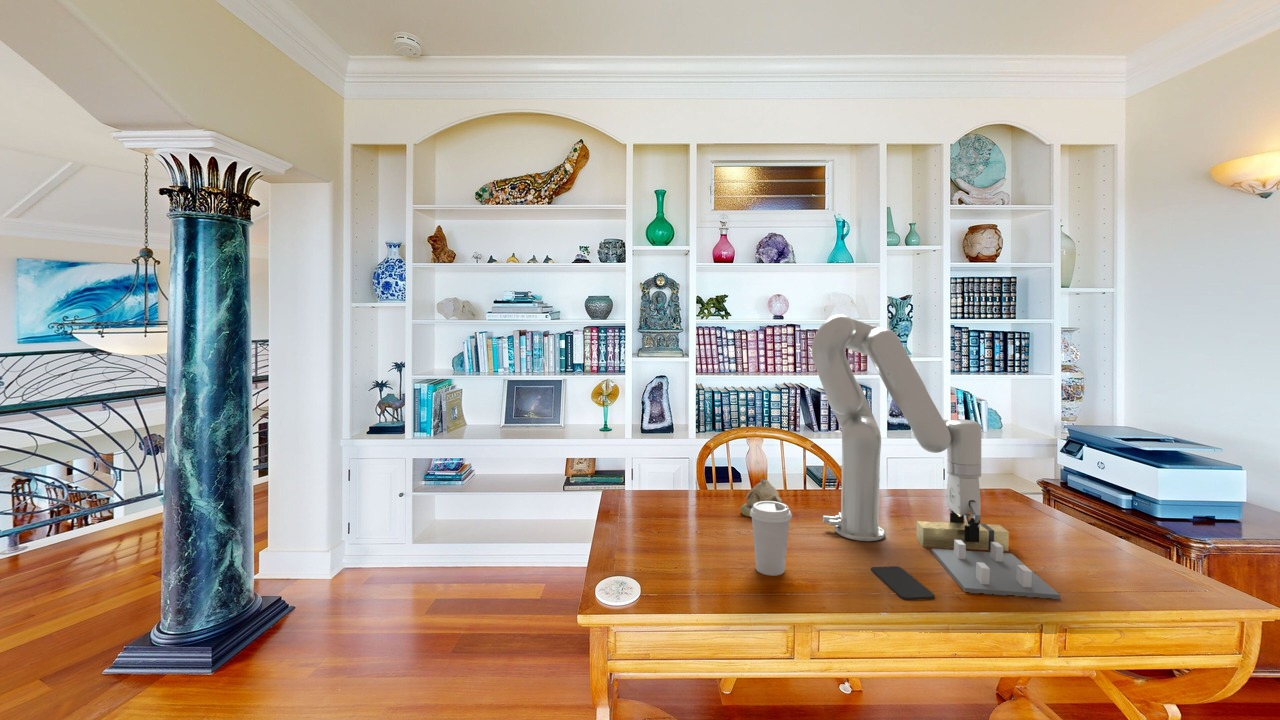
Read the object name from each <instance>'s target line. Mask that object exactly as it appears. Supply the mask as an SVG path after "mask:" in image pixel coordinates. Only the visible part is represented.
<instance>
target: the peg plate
mask: <svg viewBox="0 0 1280 720" xmlns="http://www.w3.org/2000/svg"><path fill="white" fill-rule="evenodd" d="M931 554H932V555H933V556H934V557H935V559H936V560H937V561H938V562H939V563H940V564H941V565H942V567H943V568H944V570H945V571H947V573H948V574H949V575H950V577H951V578H952V579H953V580H954V581H955V582H957V583H956V584H957V585H958V586H959V587H960V588H962V589H963V590H962V589H961V590H962V591H963V592H964V593H965V592H970V593H969V594H979V593H984V594H983V595H992V594H994V595H993V596H1006V595H1015V596H1014V597H1019V596H1027V597H1026V598H1033V597H1040V598H1039V599H1046V598H1052V599H1051V600H1059V599H1060V600H1061V594H1060V593H1059V592H1057V590H1055V589H1054V588H1052V586H1050V585H1049V584H1048V583H1047V582H1045V581H1044V579H1042V578H1041V577H1040V576H1038V574H1036V573H1035V572H1034V571H1033V570H1032V569H1031V568H1029V567H1028V566H1027V565H1026V564H1025V563H1023V562H1022V561H1021V560H1020V559H1019V558H1017V556H1016V555H1014V554H1013V553H1011V552H1004V551H1003V546H1002V545H1000V544H999V543H998V542H991V550H989V551H982V550H977V551H976V550H967V549H966V545H965V544H964V543H963V542H962V541H961V540H954V548H953V549H949V548H931ZM1029 596H1030V597H1029Z"/></svg>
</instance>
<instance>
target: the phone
mask: <svg viewBox="0 0 1280 720" xmlns="http://www.w3.org/2000/svg"><path fill="white" fill-rule="evenodd" d="M870 571H871V572H872V573H873V574H874V575H875V576H876V577H877V578H878V579H879V580H880V581H881V582H883V583H884V585H886V586H887V587H888V588H889V589H890V590H891V591H892V592H893V591H894V592H895V593H896V594H895V595H896V596H897V597H899V599H901V600H903V601H917V600H918V599H926V600H934V599H935V598H934V597H936V596H935V594H934V592H932V591H931V590H930V589H928V588H927V587H926V586H924V585H923V584H922V583H921V582H920V581H918V579H916V578H915V577H913V576H912V575H911V574H910V573H909V572H907V571H906V570H905V569H904V568H902V567H900V566H894V565H892V566H889V565H888V566H872V567H871V568H870ZM894 592H893V593H894Z"/></svg>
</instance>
